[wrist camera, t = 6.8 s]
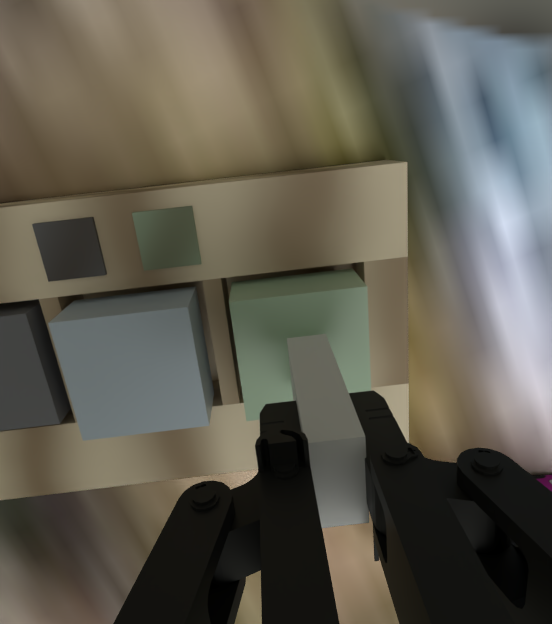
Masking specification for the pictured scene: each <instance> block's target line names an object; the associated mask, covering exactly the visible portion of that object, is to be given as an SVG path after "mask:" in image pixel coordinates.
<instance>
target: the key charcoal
mask: <svg viewBox="0 0 552 624" xmlns="http://www.w3.org/2000/svg"><path fill="white" fill-rule="evenodd" d="M70 409H71V405H70V402H69V399H68V395H67V392H66V389H65V385H64V382H63V379H62V375H61V372H60V369H59V365H58V362H57V358H56V355H55V352H54V348H53V345H52V342H51V338H50V335H49V332H48V328H47V325H46V322H45V318H44V315H43V312H42V308H41V305H40V301H39V299H35V300H27V301H18V302H9V303H1V304H0V431H3V430H12V429H20V428H29V427H37V426H45V425H54V424H60V423H61V422H62V420H63V419H64V417H65V416H66V414H67V413H68V411H69V410H70Z"/></svg>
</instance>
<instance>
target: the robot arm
mask: <svg viewBox="0 0 552 624" xmlns="http://www.w3.org/2000/svg"><path fill="white" fill-rule="evenodd" d="M287 346H288V356H289V365H290V375H291V384H292V394H293V401H287V402H279V403H270V404H265V406H264V407H263V409H262V410H261V412H260V437H259V438H258V439H257V440H256V444H255V450H256V457H257V464H258V473H257V475H256V476H255V477H254V478H253V479H252V480H250V481H249V482H247V483H246V484H244V485H241V486H239V487H237V488H234V489H231V490H230V488H229V487H228V486H227V485H225V484H224V483H222V482H217V481H204V482H201V483H198V484H195V485H193V486H191V487H190V488H188V489H187V490H185V491H184V493H183V494H182V495H181V496H180V498H179V499H178V501H177V503H176V505H175V507H174V509H173V511H172V513H171V515H170V516H169V518H168V520H167V522H166V524H165V526H164V528H163V530H162V532H161V534H160V536H159V538H158V539H157V541H156V543H155V545H154V547H153V549H152V551H151V553H150V555H149V557H148V559H147V560H146V562H145V564H144V566H143V568H142V570H141V572H140V574H139V576H138V578H137V580H136V582H135V583H134V585H133V587H132V589H131V591H130V593H129V595H128V597H127V599H126V601H125V603H124V604H123V606H122V608H121V610H120V612H119V614H118V616H117V618H116V620H115V622H114V624H234V623H235V619H236V615H237V612H238V608H239V605H240V601H241V597H242V594H243V590H244V586H245V582H246V576H249V575H251V574H253V573H255V572H258V571H260V570H261V597H262V624H339V620H338V614H337V609H336V603H335V598H334V592H333V587H332V581H331V576H330V571H329V565H328V560H327V554H326V549H325V543H324V538H323V532H322V528H327V527H335V526H343V525H352V524H360V523H369V511H370V515H371V518H372V521H373V537H374V559H375V561H379V558H380V561H381V564H382V568H383V571H384V574H385V578H386V581H387V584H388V587H389V591H390V594H391V597H392V601H393V604H394V607H395V611H396V614H397V617H398V620H399V624H552V491H550V490H549V489H548V488H547V487H545V486H544V485H543V484H542V483H540V482H539V481H538V480H537V479H535V478H534V477H533V476H532V475H530V474H529V473H528V472H527V471H525V470H524V469H523V468H522V467H520V466H519V465H518V464H517V463H515V462H514V461H513V460H512V459H510V458H509V457H507V456H506V455H504V454H502V453H500V452H498V451H494V450H491V449H485V448H473V449H468V450H466V451H464V452H462V453H461V454H460V455H459V457H458V458H457V463H451V462H441V461H435V460H431V459H428V458H425V457H424V456H423V454H422V453H421V452H420V450H419V449H418V448H417V447H415V446H413V445H411V444H410V443H407V441H406V439H405V437H404V435H403V433H402V431H401V429H400V427H399V425H398V423H397V422H396V420H395V418H394V417H393V414H392V412H391V410H390V409H389V406H388V404H387V402H386V400H385V398H384V397H382V396H381V395H379V394H378V393H377V392H375V391H374V390H372V391H363V392H355V393H348V390H347V388H346V385H345V382H344V380H343V377H342V375H341V372H340V369H339V367H338V364H337V362H336V359H335V356H334V354H333V351H332V349H331V346H330V344H329V341H328V338H327V336H326V334H319V335H311V336H302V337H293V338H287Z"/></svg>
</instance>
